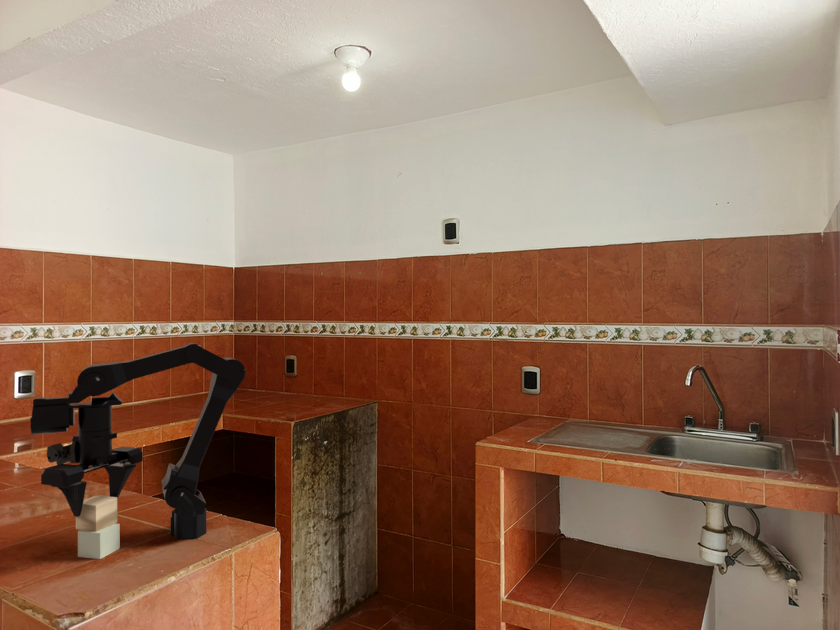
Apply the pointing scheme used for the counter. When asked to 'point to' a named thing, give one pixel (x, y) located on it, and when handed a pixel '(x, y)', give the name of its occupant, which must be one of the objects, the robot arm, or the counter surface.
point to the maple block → (97, 513)
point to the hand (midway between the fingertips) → (95, 508)
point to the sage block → (99, 542)
